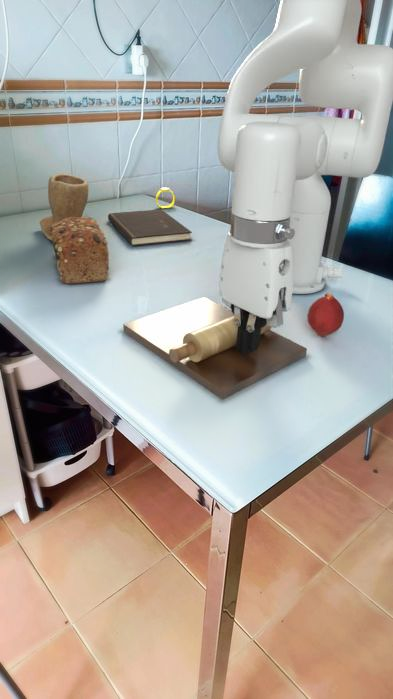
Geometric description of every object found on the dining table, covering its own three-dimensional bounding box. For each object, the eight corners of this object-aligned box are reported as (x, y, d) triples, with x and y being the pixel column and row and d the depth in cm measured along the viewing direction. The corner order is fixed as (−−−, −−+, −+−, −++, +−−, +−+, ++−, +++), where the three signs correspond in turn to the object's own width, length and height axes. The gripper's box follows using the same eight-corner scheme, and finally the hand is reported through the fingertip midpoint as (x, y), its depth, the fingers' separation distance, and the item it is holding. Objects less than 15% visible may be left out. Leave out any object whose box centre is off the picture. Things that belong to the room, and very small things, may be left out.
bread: (111, 282, 97) (108, 234, 92) (57, 287, 95) (51, 237, 89) (99, 252, 113) (96, 209, 108) (52, 255, 110) (47, 211, 105)
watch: (173, 206, 152) (173, 187, 149) (175, 208, 149) (176, 188, 146) (155, 207, 150) (154, 187, 147) (157, 209, 148) (157, 189, 145)
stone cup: (96, 243, 118) (91, 180, 111) (47, 247, 114) (38, 182, 107) (85, 225, 130) (80, 168, 123) (40, 229, 126) (31, 170, 119)
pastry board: (203, 304, 90) (204, 296, 89) (305, 356, 75) (307, 348, 74) (123, 332, 80) (123, 324, 79) (222, 399, 64) (223, 390, 64)
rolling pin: (265, 320, 82) (268, 296, 79) (285, 329, 79) (288, 305, 77) (163, 362, 69) (163, 335, 67) (182, 375, 66) (183, 348, 64)
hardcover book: (161, 217, 140) (161, 209, 139) (191, 240, 122) (191, 231, 121) (108, 221, 135) (107, 213, 134) (131, 246, 117) (130, 237, 116)
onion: (314, 324, 84) (322, 282, 80) (345, 335, 81) (354, 292, 77) (298, 336, 80) (305, 292, 76) (329, 348, 77) (339, 303, 73)
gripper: (324, 237, 59) (303, 362, 68) (238, 211, 68) (229, 324, 78) (286, 249, 55) (268, 381, 64) (199, 219, 64) (195, 338, 73)
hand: (247, 349), depth 71 cm, fingers closed
